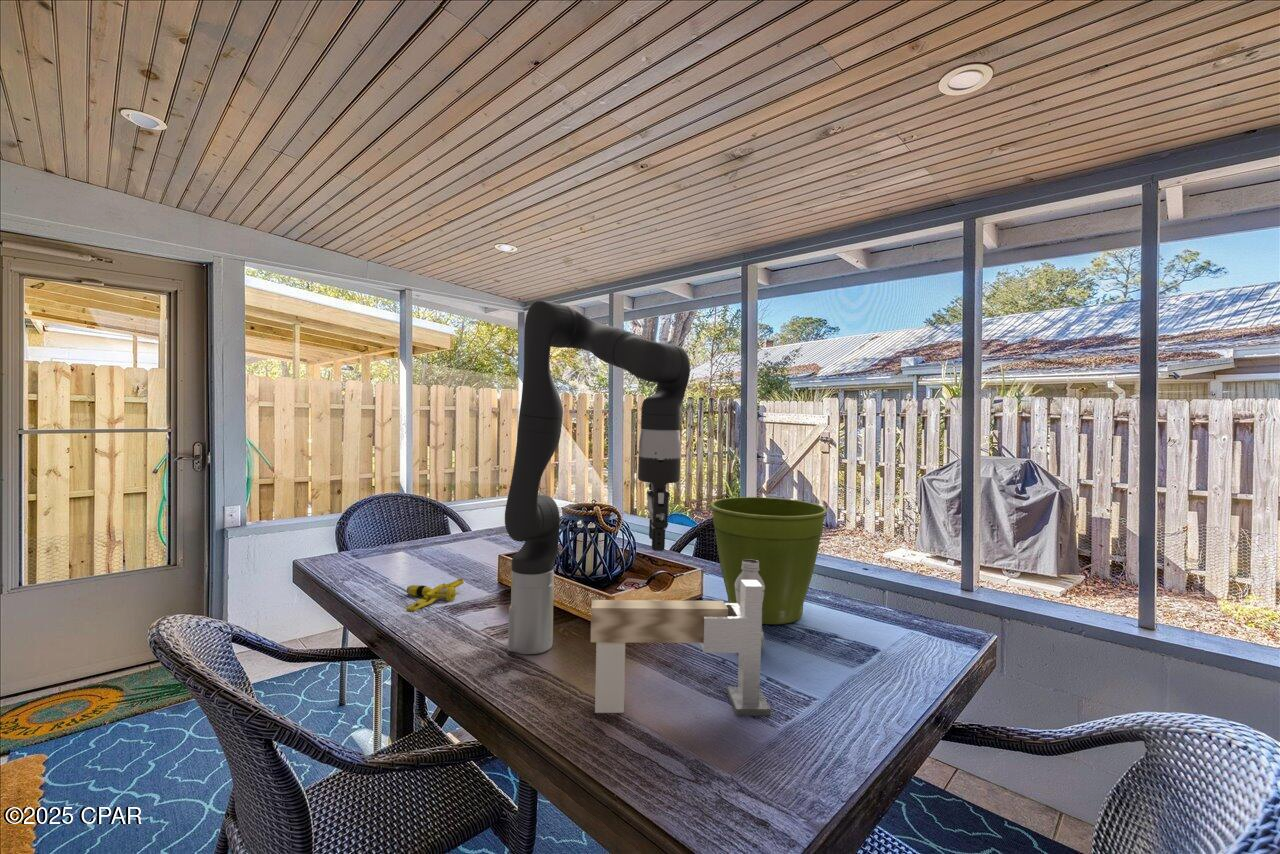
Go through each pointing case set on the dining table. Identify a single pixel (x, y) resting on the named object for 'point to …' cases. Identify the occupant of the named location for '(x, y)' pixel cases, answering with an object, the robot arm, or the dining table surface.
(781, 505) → the plant pot
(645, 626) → the maple rail
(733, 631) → the cup bracket
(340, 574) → the dining table surface
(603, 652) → the block
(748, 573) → the plastic bottle
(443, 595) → the sprinkler
